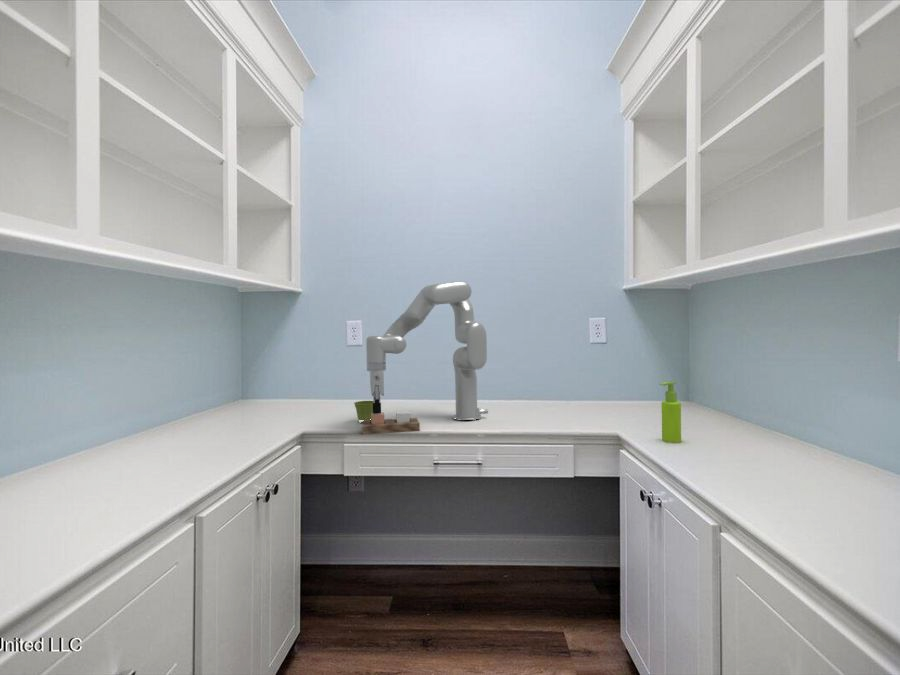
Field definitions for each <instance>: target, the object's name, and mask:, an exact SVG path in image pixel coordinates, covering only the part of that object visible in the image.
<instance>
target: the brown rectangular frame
mask: <svg viewBox="0 0 900 675" xmlns="http://www.w3.org/2000/svg"><path fill="white" fill-rule="evenodd" d="M361 424H362V427H361V428H362V430H361V431H362V435H372V434H390V433H393V434H394V433H407V432H420V431H421V430H420V429H421V428H420V426H421V424H420V422H419V420H418V418H417V417H410V422H406V423H397V422H396V418H384V424H371V420H364V421H363V423H361Z"/></svg>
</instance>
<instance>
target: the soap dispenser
mask: <svg viewBox="0 0 900 675" xmlns="http://www.w3.org/2000/svg"><path fill="white" fill-rule="evenodd" d="M659 385H660V386H664V387H665V386H667V390H666V391H665V394H664V395H665V400H663V401H661V440H663V441H662V442H664V441H665V442H666V443H669V442H671V443H670V444H678V443H679V442H680V443H682V403H681V402H680V401H678V400H677V399H678V397H677V391H675V387H674V386H675V385H677V382H675V381H665V382H661V383H660V384H659ZM665 442H664V443H665Z"/></svg>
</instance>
